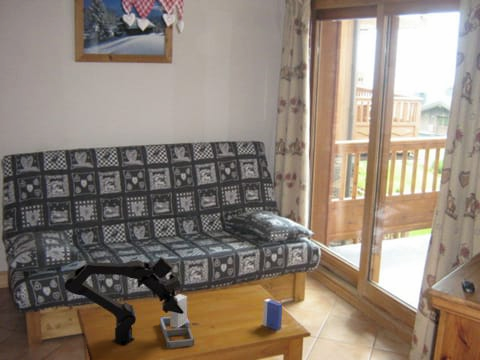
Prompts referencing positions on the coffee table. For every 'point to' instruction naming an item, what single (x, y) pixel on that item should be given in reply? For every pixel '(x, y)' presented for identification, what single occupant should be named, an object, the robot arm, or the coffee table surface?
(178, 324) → the skincare box
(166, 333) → the frame
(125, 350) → the coffee table surface
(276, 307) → the walkman
